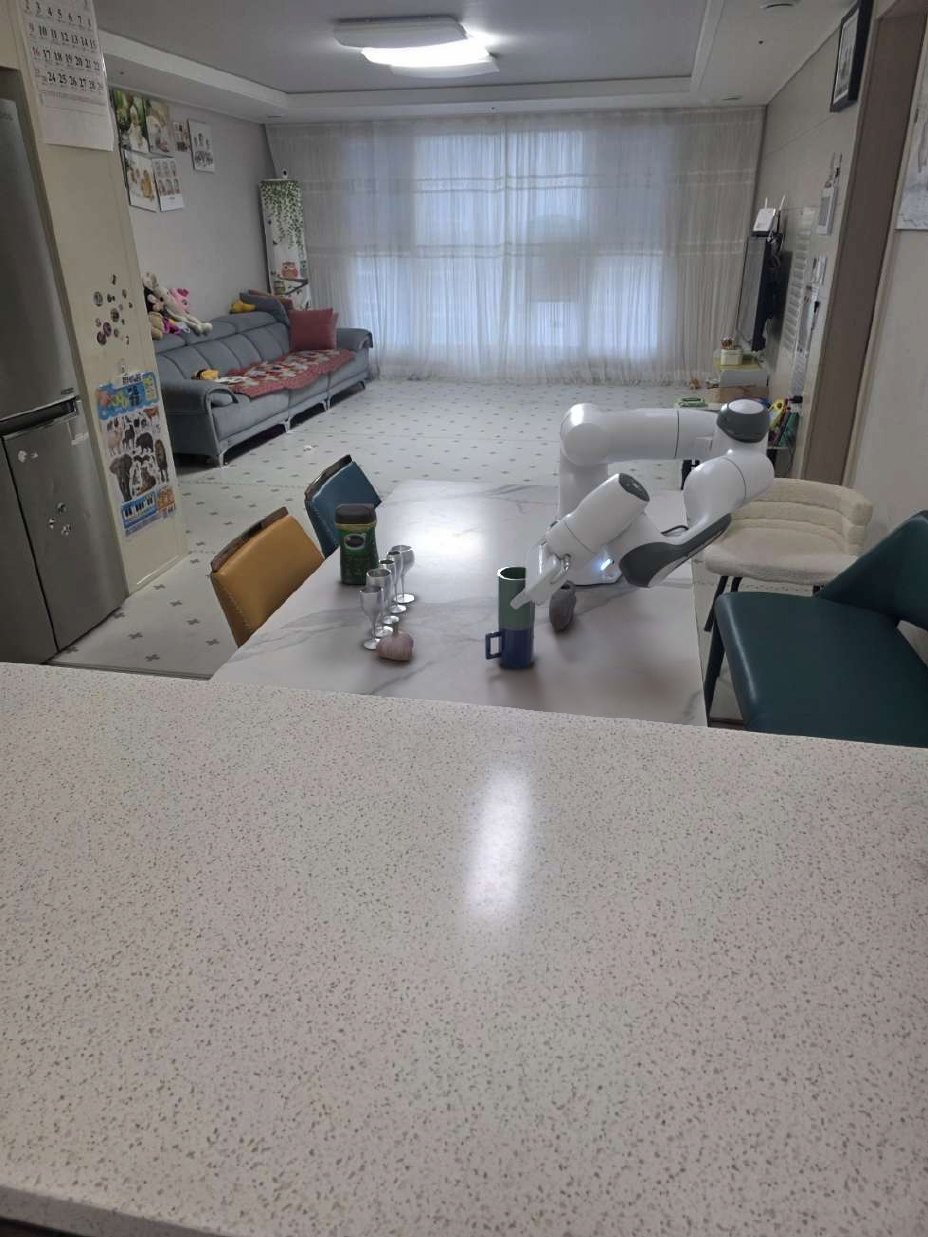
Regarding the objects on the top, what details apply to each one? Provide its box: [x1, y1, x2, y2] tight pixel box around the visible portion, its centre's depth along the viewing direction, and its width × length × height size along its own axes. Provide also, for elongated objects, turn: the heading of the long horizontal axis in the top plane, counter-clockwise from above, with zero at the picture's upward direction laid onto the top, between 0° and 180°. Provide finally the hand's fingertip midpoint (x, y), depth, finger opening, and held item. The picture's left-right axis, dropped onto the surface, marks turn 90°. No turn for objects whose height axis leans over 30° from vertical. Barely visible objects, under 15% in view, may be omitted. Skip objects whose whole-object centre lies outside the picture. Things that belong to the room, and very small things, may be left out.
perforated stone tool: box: [548, 580, 578, 631], centre depth 171 cm, size 15×5×7 cm, turn 164°
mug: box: [484, 623, 535, 670], centre depth 155 cm, size 10×7×8 cm
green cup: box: [496, 565, 536, 630], centre depth 152 cm, size 7×7×10 cm
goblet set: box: [358, 544, 416, 650], centre depth 172 cm, size 28×6×13 cm, turn 169°
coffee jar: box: [334, 502, 380, 585], centre depth 192 cm, size 10×8×19 cm
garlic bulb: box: [375, 620, 414, 661], centre depth 158 cm, size 8×7×8 cm
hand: (513, 596), depth 152 cm, fingers closed on green cup, 7 cm apart
